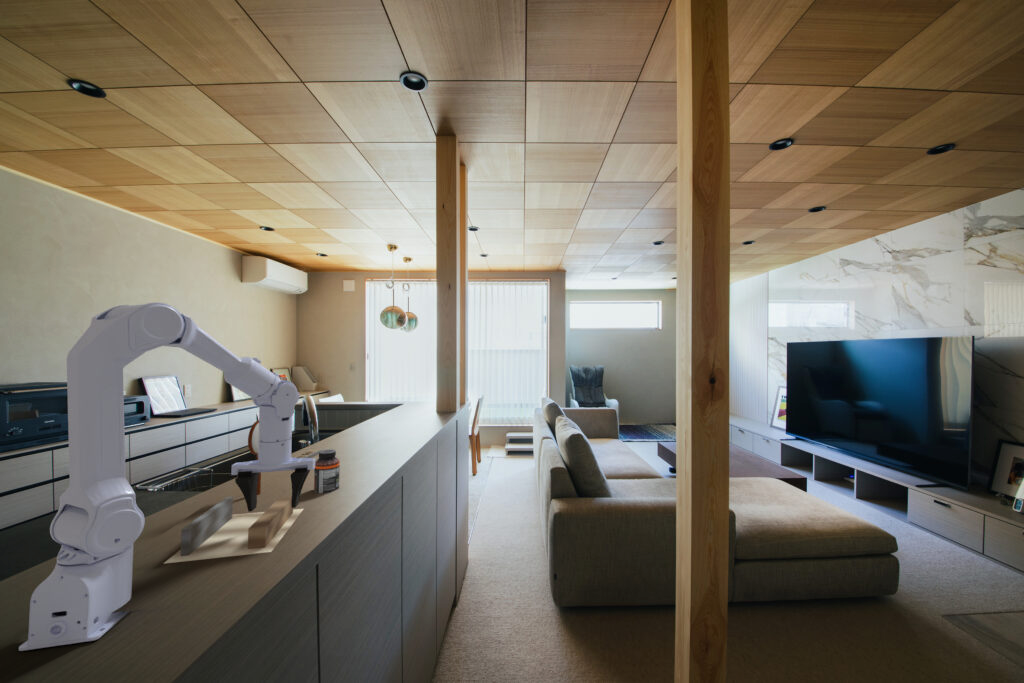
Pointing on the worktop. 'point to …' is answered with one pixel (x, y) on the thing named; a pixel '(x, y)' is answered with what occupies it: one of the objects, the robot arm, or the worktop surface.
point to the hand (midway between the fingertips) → (273, 507)
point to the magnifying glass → (255, 447)
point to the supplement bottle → (326, 472)
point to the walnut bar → (269, 523)
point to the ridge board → (223, 534)
